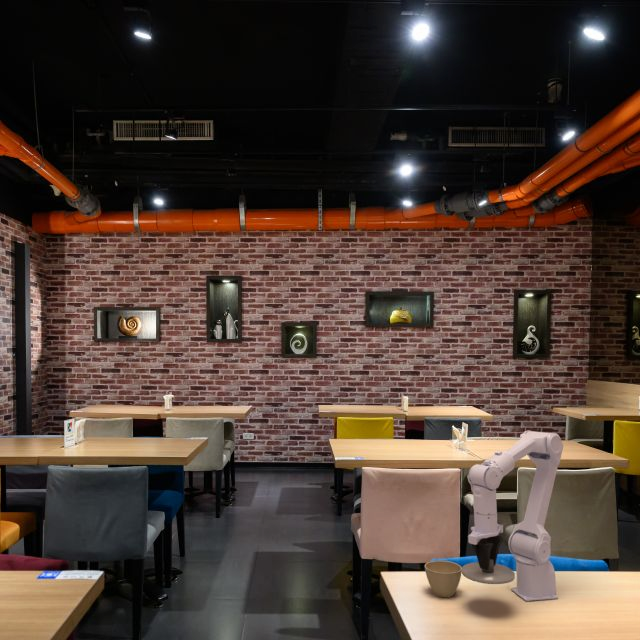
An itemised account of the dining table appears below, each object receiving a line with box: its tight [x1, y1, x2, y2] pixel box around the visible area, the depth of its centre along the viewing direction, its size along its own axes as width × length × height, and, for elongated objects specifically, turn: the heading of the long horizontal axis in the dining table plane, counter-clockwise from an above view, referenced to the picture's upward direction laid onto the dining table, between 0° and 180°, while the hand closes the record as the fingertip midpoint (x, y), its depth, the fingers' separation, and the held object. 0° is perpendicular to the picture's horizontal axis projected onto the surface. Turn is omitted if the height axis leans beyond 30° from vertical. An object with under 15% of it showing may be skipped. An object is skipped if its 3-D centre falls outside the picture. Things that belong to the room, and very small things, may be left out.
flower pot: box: [424, 560, 463, 598], centre depth 146 cm, size 10×10×7 cm
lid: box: [461, 558, 516, 585], centre depth 136 cm, size 13×13×4 cm
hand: (487, 566), depth 136 cm, fingers closed on lid, 3 cm apart
